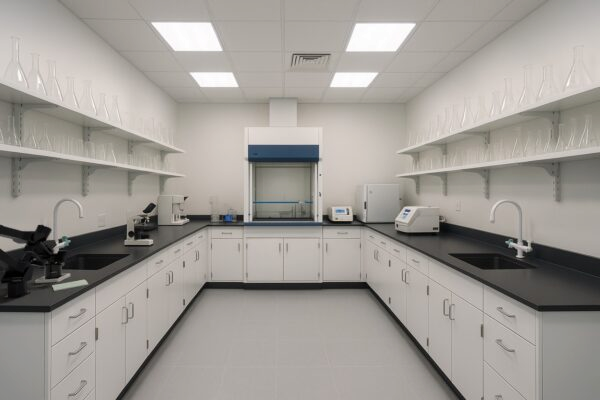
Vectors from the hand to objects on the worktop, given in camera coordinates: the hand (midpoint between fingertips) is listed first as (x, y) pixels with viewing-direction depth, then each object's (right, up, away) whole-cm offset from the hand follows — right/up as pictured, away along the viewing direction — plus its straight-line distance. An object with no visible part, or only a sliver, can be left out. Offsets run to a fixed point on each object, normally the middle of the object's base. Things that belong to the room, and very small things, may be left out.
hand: (54, 265), depth 152 cm
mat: (+17, -7, -11) cm, 22 cm away
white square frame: (0, -7, -1) cm, 7 cm away
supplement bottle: (0, -8, -1) cm, 8 cm away
